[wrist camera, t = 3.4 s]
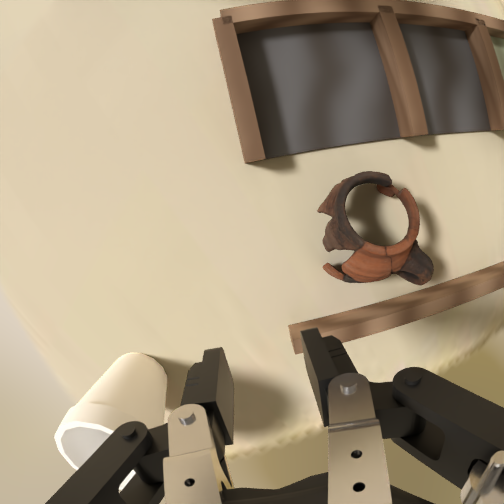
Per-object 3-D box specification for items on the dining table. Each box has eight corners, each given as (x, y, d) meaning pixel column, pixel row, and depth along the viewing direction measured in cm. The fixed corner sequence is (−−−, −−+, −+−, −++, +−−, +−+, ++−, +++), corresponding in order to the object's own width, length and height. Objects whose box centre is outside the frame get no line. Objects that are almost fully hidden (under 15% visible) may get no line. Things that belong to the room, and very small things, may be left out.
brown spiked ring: (290, 263, 31) (305, 234, 23) (328, 186, 33) (350, 141, 25) (396, 319, 29) (441, 308, 21) (424, 239, 32) (466, 209, 24)
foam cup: (177, 413, 34) (159, 500, 22) (104, 395, 33) (66, 472, 21) (184, 349, 32) (160, 440, 19) (101, 330, 31) (46, 405, 19)
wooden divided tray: (283, 340, 32) (288, 362, 28) (213, 25, 24) (209, 6, 20) (538, 258, 31) (557, 266, 27) (506, 30, 23) (525, 24, 19)
